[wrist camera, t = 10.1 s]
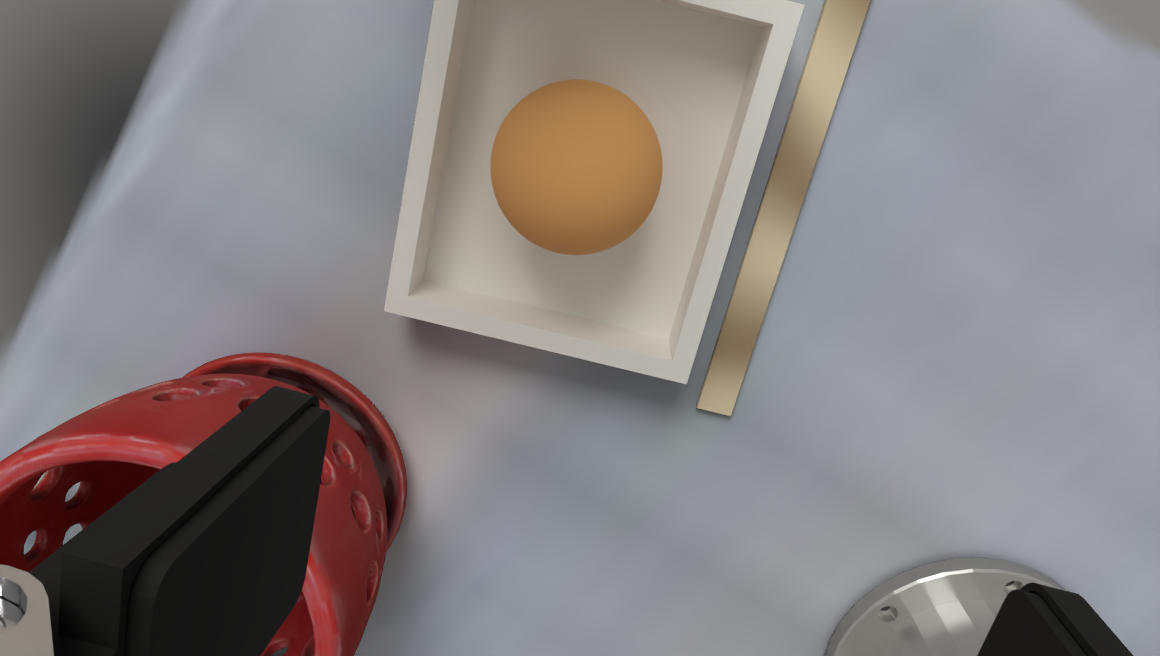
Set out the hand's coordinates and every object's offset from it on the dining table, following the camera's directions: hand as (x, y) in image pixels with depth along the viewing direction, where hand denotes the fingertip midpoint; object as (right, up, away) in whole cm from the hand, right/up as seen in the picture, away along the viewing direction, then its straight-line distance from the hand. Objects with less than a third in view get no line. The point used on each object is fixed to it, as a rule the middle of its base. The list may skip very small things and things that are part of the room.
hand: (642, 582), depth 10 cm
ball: (-1, +10, +20) cm, 22 cm away
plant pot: (-14, -2, +25) cm, 29 cm away
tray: (-1, +10, +20) cm, 23 cm away
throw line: (+7, +9, +20) cm, 23 cm away
